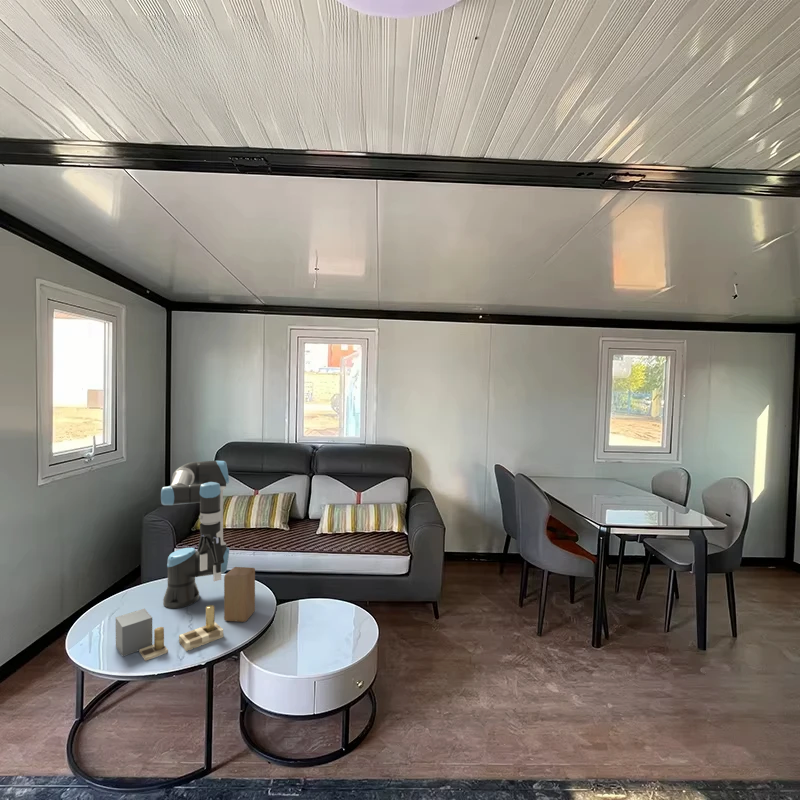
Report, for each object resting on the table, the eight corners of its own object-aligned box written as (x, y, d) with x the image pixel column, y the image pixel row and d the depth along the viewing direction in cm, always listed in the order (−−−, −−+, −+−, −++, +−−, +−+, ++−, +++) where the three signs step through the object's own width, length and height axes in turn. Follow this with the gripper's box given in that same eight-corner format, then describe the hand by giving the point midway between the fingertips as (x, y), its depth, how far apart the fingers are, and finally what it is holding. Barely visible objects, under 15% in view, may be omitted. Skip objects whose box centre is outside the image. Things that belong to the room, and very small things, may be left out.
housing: (115, 645, 170) (115, 617, 170) (144, 635, 177) (144, 608, 177) (122, 656, 163) (122, 627, 163) (152, 645, 170) (152, 617, 170)
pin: (204, 636, 177) (204, 606, 176) (212, 633, 179) (212, 604, 179) (207, 639, 174) (207, 609, 174) (215, 636, 177) (215, 606, 176)
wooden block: (255, 611, 197) (255, 566, 197) (245, 623, 187) (245, 576, 187) (234, 610, 198) (234, 565, 198) (223, 621, 188) (223, 575, 188)
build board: (179, 642, 172) (179, 635, 172) (215, 629, 182) (215, 622, 182) (186, 651, 166) (186, 643, 166) (223, 637, 176) (223, 629, 176)
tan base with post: (139, 652, 166) (139, 631, 166) (161, 644, 171) (161, 623, 171) (145, 660, 160) (145, 639, 160) (167, 652, 166) (167, 631, 166)
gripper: (188, 517, 182) (189, 568, 182) (213, 531, 164) (213, 587, 165) (207, 514, 187) (207, 563, 188) (233, 527, 170) (233, 581, 170)
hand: (210, 575), depth 176 cm, fingers open, 13 cm apart
